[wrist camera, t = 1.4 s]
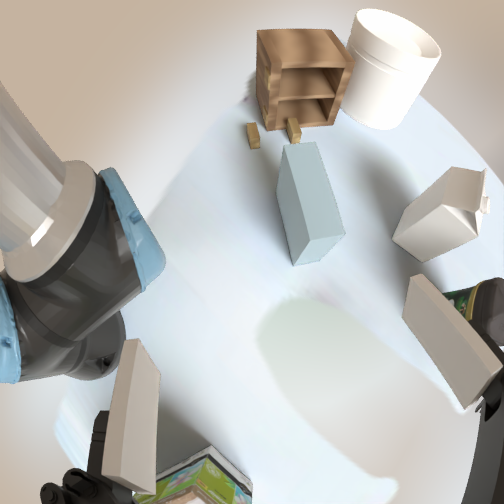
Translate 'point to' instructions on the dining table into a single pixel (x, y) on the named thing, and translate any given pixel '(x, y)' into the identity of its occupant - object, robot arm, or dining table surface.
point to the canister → (386, 67)
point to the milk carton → (444, 214)
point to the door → (307, 204)
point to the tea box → (200, 482)
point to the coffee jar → (482, 306)
